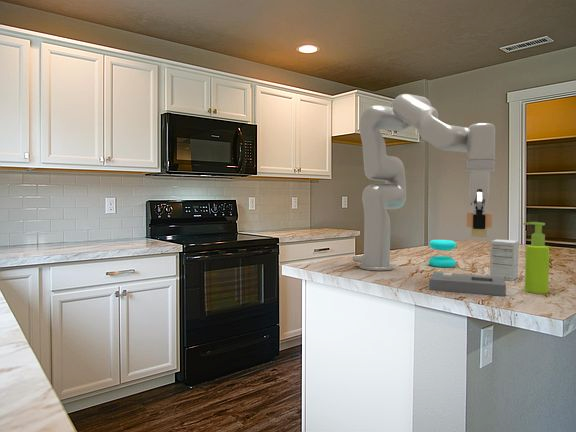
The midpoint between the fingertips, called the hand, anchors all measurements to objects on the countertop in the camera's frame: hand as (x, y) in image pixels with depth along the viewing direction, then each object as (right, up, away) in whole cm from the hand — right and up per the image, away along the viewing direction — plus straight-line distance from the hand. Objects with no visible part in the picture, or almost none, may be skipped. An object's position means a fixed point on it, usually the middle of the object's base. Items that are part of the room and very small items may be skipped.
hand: (479, 227), depth 129 cm
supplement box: (+17, -18, +20) cm, 31 cm away
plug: (0, -3, 0) cm, 3 cm away
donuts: (+5, -16, +45) cm, 48 cm away
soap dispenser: (+15, -19, -1) cm, 24 cm away
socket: (-3, -18, +2) cm, 18 cm away
